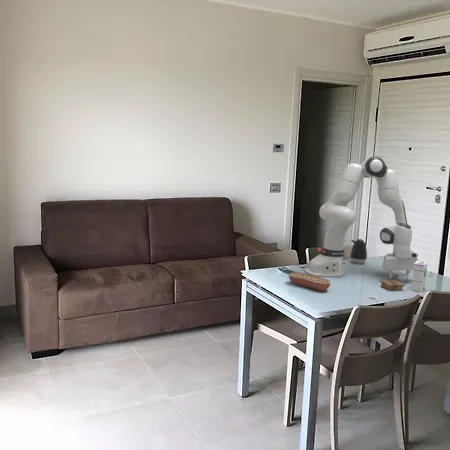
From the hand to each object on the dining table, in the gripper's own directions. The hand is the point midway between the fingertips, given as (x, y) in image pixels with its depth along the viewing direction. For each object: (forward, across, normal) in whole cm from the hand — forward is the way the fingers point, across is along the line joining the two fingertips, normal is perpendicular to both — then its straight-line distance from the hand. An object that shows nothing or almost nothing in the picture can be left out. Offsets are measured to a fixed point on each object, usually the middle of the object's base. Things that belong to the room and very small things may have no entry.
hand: (398, 277), depth 275 cm
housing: (+2, 0, 0) cm, 2 cm away
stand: (+2, -12, -11) cm, 16 cm away
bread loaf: (+2, -56, -4) cm, 56 cm away
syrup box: (+2, +2, -15) cm, 15 cm away
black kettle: (+2, -2, +40) cm, 40 cm away
